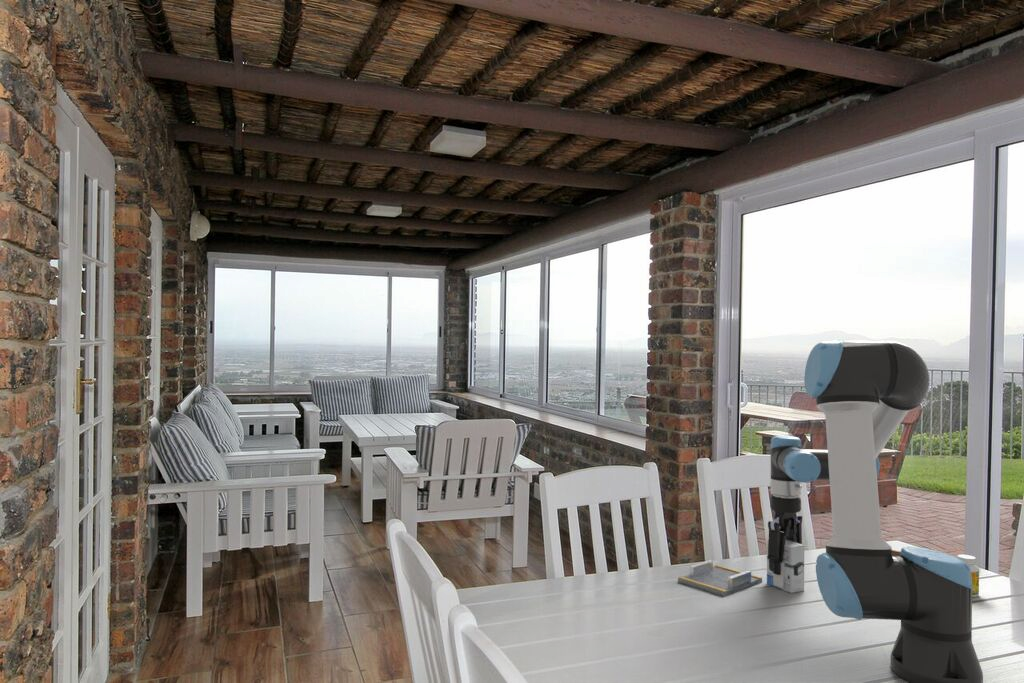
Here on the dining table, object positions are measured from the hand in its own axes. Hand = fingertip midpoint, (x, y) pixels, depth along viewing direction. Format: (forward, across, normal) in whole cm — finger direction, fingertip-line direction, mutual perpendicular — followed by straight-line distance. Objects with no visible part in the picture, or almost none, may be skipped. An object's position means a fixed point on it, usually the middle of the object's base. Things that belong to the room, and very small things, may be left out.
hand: (785, 583), depth 183 cm
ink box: (+1, 0, 0) cm, 1 cm away
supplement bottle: (+1, +32, -32) cm, 45 cm away
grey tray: (+1, -10, +13) cm, 16 cm away
